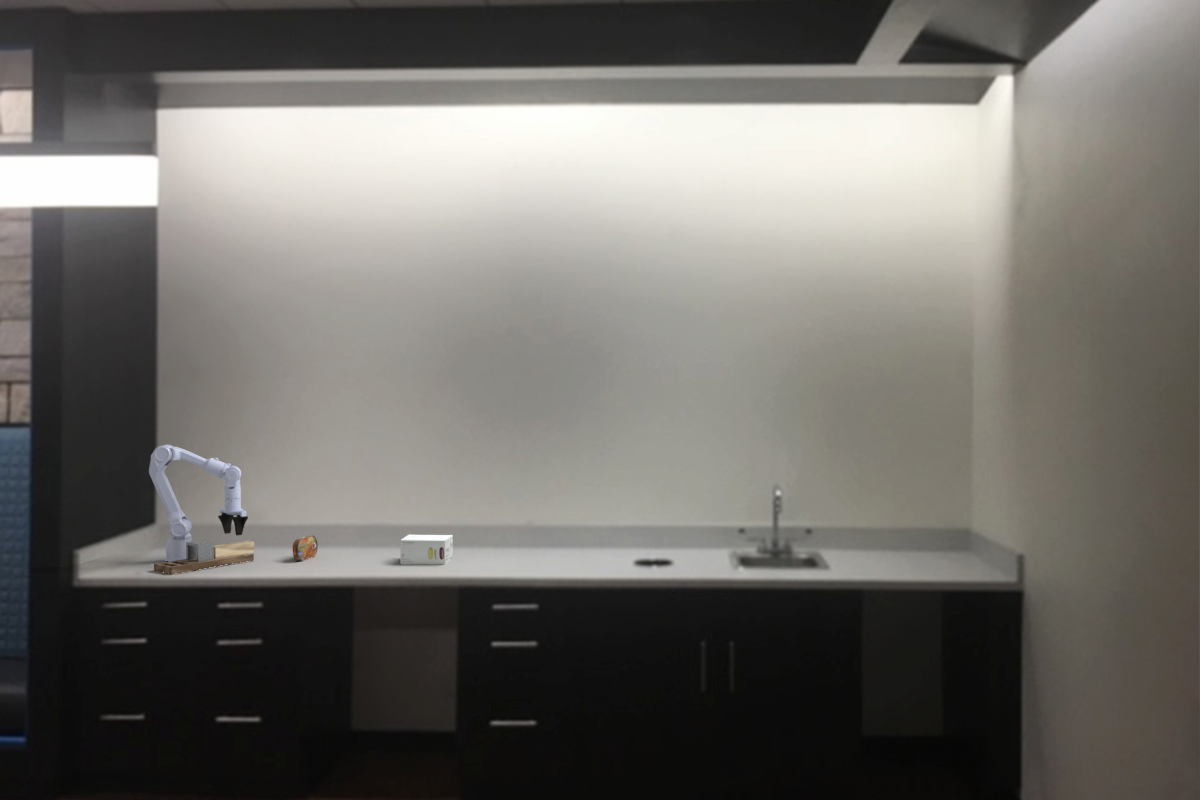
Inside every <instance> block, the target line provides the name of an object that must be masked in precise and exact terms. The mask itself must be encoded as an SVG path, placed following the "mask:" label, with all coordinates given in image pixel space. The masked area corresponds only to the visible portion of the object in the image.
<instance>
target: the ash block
mask: <svg viewBox="0 0 1200 800" xmlns="http://www.w3.org/2000/svg"><path fill="white" fill-rule="evenodd" d="M246 553H255V541H252V540H244V541H237V542H231V543H223V544H216V545H214V558H221V557H228V556H234V555H240V554H246Z"/></svg>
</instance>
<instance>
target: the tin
mask: <svg viewBox="0 0 1200 800" xmlns="http://www.w3.org/2000/svg"><path fill="white" fill-rule="evenodd" d="M318 545H319V544H318V540H317V538H316V536H314V535H313V534H311V535H306V536H305V535H304V536H303V537H301V538H298V539H297V538H296V539H295V540H294V541H293V543H292V555H293V559H294V560H295V561H297V562H298V561H299V562H304V561H303V560H305V561H307V560H309V559H308V558H310V559H312V558H311V557H313V558H315V557H316V555H317V553H318ZM306 559H307V560H306Z"/></svg>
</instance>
